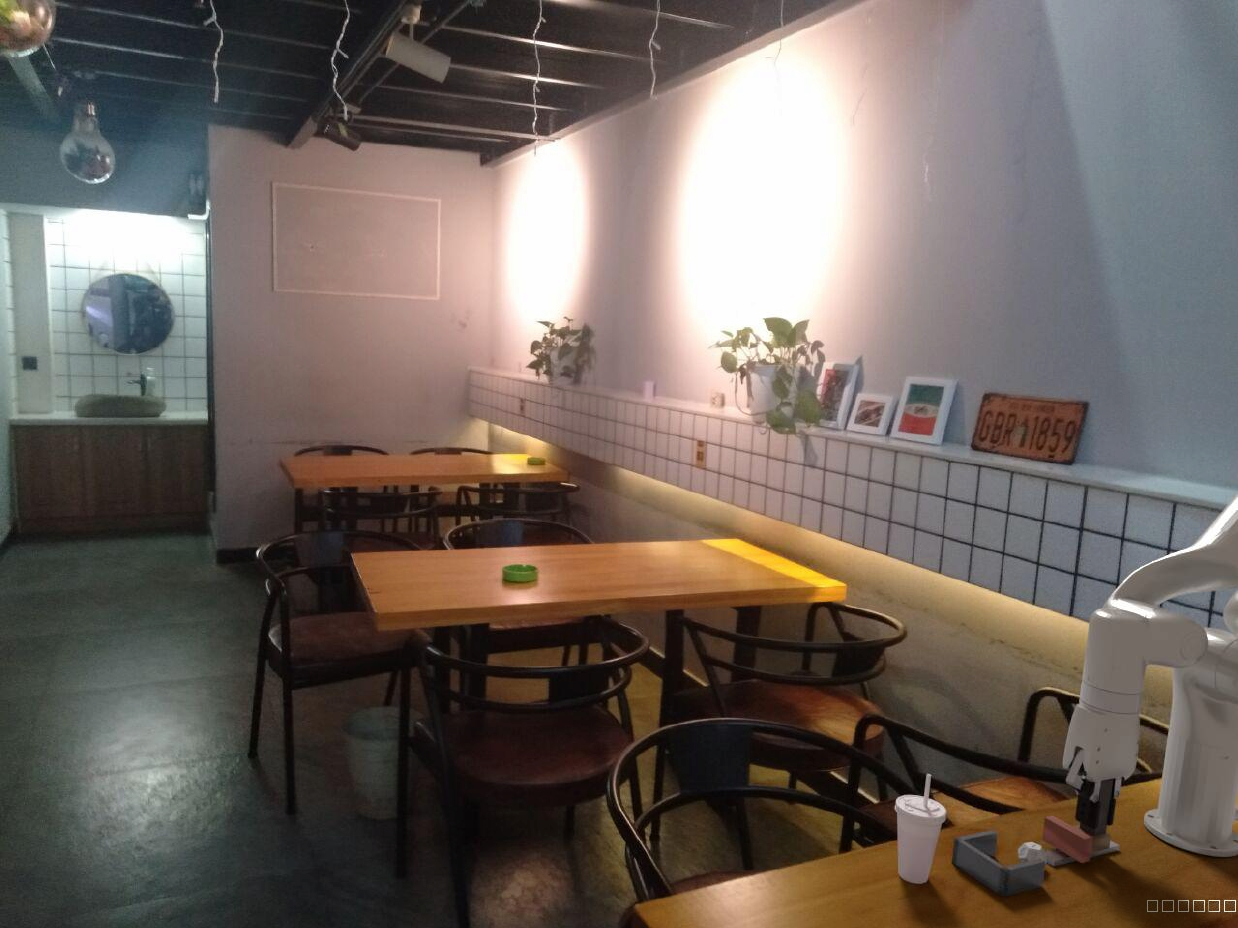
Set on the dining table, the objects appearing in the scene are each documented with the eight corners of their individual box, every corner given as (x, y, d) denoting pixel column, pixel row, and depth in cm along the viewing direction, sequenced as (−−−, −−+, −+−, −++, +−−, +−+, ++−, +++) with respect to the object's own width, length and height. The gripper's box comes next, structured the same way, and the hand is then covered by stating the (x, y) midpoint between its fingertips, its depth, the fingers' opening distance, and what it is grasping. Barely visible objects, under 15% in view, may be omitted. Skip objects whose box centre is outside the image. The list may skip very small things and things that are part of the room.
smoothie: (941, 893, 117) (954, 788, 115) (889, 884, 118) (901, 780, 116) (934, 867, 123) (946, 767, 121) (885, 858, 124) (896, 760, 123)
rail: (1103, 841, 133) (1104, 836, 133) (1118, 850, 131) (1119, 844, 131) (1038, 857, 127) (1039, 852, 127) (1053, 866, 125) (1054, 860, 125)
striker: (1078, 831, 134) (1086, 766, 133) (1118, 853, 128) (1127, 785, 127) (1042, 839, 130) (1050, 772, 129) (1081, 862, 125) (1090, 792, 124)
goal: (990, 853, 128) (993, 829, 127) (1042, 886, 120) (1045, 861, 120) (951, 862, 124) (954, 837, 124) (1002, 897, 117) (1005, 871, 116)
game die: (1011, 864, 125) (1014, 843, 125) (1025, 856, 128) (1027, 836, 127) (1036, 876, 123) (1039, 855, 122) (1050, 868, 125) (1052, 847, 125)
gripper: (1123, 683, 135) (1107, 802, 137) (1047, 693, 128) (1031, 818, 130) (1172, 701, 128) (1155, 826, 130) (1095, 713, 121) (1078, 845, 123)
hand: (1093, 821), depth 130 cm, fingers closed on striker, 2 cm apart
